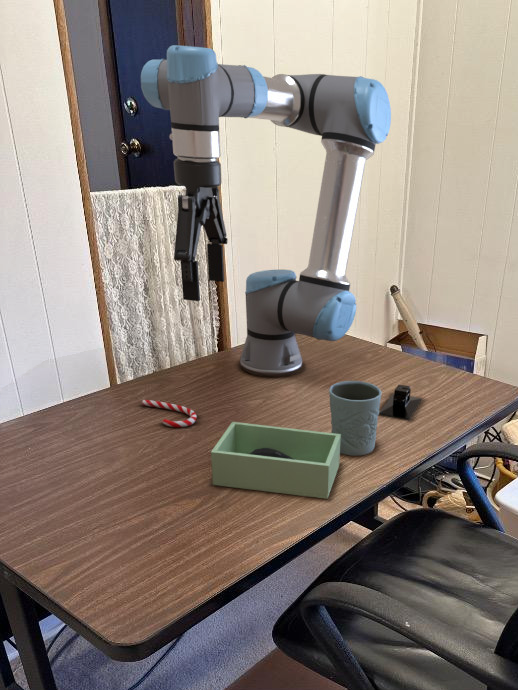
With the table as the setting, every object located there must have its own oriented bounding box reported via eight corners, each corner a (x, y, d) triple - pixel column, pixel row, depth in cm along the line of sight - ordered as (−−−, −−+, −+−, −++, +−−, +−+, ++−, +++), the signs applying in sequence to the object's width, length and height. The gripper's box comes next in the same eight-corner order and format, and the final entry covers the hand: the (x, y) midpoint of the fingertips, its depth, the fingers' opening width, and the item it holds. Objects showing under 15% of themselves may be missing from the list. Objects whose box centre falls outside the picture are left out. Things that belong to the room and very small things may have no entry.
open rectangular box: (233, 452, 133) (232, 421, 129) (339, 465, 131) (340, 434, 128) (212, 485, 122) (210, 451, 118) (327, 499, 121) (329, 465, 117)
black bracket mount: (409, 420, 151) (411, 401, 149) (377, 414, 153) (378, 395, 150) (421, 399, 161) (423, 380, 159) (391, 394, 163) (393, 375, 160)
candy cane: (154, 394, 150) (205, 413, 144) (154, 400, 151) (206, 419, 144) (125, 405, 144) (178, 425, 138) (126, 411, 145) (178, 431, 139)
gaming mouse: (309, 488, 122) (310, 468, 120) (233, 471, 125) (233, 451, 123) (322, 472, 127) (323, 453, 125) (249, 456, 130) (248, 437, 128)
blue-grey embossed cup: (368, 461, 133) (372, 404, 127) (319, 451, 136) (321, 394, 129) (383, 440, 142) (387, 385, 136) (336, 430, 144) (339, 376, 138)
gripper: (200, 150, 124) (206, 271, 135) (144, 164, 102) (157, 306, 113) (241, 154, 123) (244, 275, 134) (193, 168, 102) (202, 311, 113)
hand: (204, 290), depth 124 cm, fingers open, 13 cm apart
